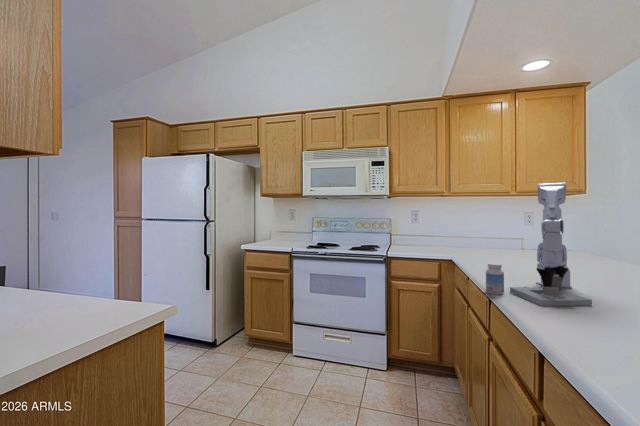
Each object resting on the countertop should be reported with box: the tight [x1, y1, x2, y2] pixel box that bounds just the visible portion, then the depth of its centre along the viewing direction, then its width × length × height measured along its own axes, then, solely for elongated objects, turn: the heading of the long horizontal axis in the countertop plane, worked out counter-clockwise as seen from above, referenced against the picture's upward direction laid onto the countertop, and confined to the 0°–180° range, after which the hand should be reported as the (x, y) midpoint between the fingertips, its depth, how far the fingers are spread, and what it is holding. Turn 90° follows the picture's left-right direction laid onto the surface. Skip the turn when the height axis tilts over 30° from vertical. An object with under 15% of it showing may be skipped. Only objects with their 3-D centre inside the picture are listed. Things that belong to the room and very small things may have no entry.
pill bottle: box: [485, 262, 505, 295], centre depth 114 cm, size 6×6×11 cm
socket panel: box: [509, 286, 593, 307], centre depth 106 cm, size 17×16×2 cm
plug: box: [542, 274, 563, 291], centre depth 111 cm, size 4×4×6 cm
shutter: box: [541, 285, 575, 301], centre depth 100 cm, size 6×6×3 cm
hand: (552, 286), depth 111 cm, fingers closed on plug, 5 cm apart
